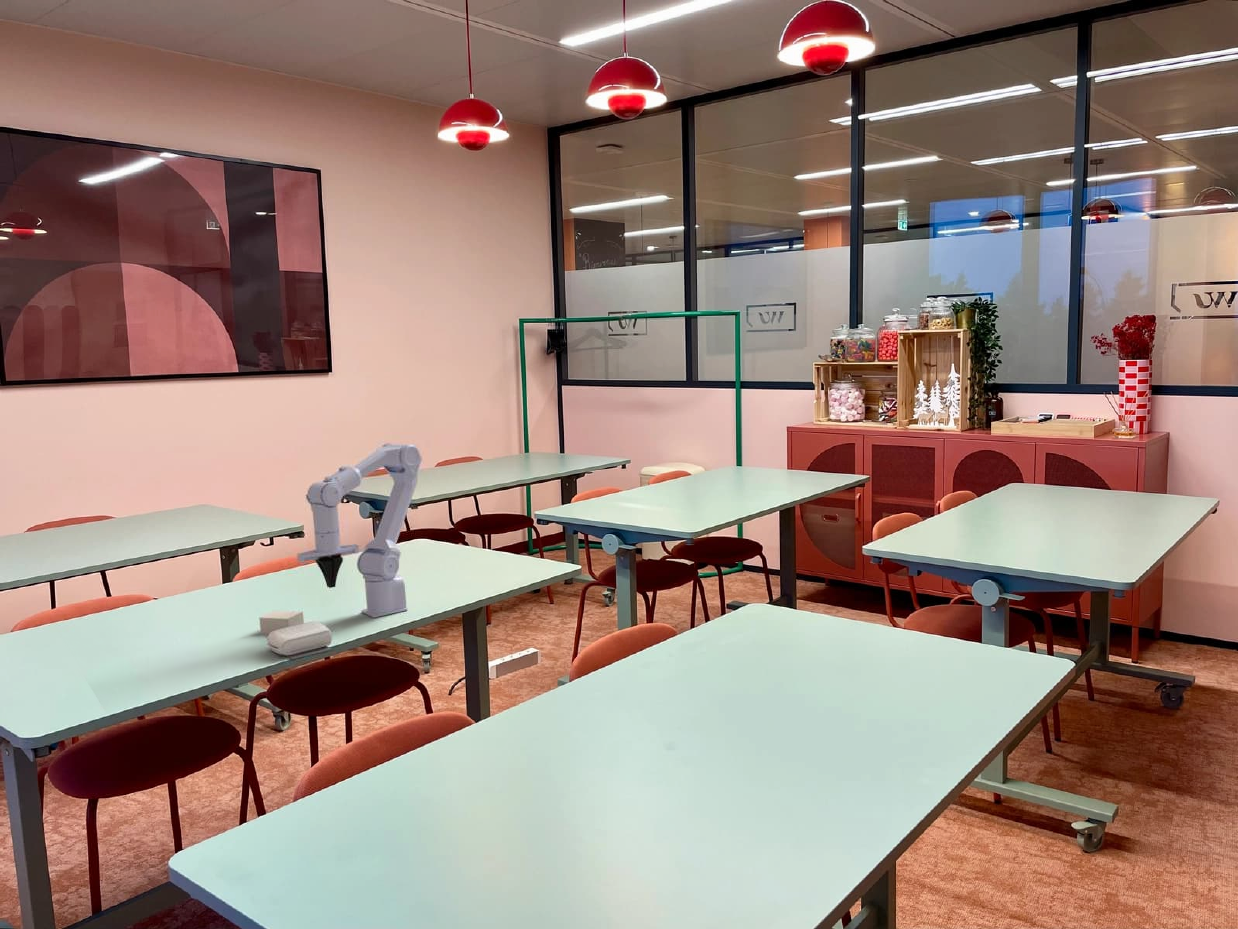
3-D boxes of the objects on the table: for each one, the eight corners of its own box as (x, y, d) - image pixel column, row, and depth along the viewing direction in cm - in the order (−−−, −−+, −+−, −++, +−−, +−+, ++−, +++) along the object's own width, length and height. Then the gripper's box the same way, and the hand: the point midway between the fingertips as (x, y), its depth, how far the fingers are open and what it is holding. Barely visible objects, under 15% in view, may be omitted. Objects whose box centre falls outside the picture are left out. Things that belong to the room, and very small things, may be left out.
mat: (310, 636, 217) (310, 635, 217) (331, 650, 206) (331, 649, 206) (271, 645, 212) (271, 644, 212) (291, 659, 201) (291, 659, 201)
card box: (276, 626, 228) (274, 610, 228) (304, 627, 226) (302, 611, 226) (260, 633, 222) (259, 617, 222) (289, 635, 220) (287, 618, 220)
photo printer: (316, 636, 216) (263, 649, 209) (314, 618, 216) (261, 631, 208) (333, 646, 208) (279, 660, 201) (332, 628, 208) (277, 641, 200)
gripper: (349, 525, 228) (353, 578, 230) (291, 534, 219) (295, 589, 221) (360, 528, 223) (364, 583, 224) (301, 537, 214) (306, 594, 215)
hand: (331, 586), depth 222 cm, fingers closed
